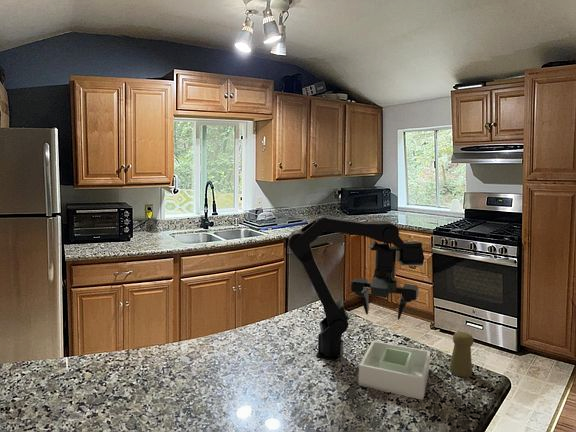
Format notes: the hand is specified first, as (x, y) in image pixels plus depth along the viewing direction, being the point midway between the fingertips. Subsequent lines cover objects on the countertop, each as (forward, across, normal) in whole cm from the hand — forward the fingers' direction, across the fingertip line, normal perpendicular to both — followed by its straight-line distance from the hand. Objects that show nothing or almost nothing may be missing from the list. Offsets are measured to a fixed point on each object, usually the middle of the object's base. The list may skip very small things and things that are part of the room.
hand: (382, 316), depth 123 cm
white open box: (+12, +6, -11) cm, 17 cm away
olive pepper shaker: (+12, +22, 0) cm, 25 cm away
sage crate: (+11, +6, -11) cm, 17 cm away
